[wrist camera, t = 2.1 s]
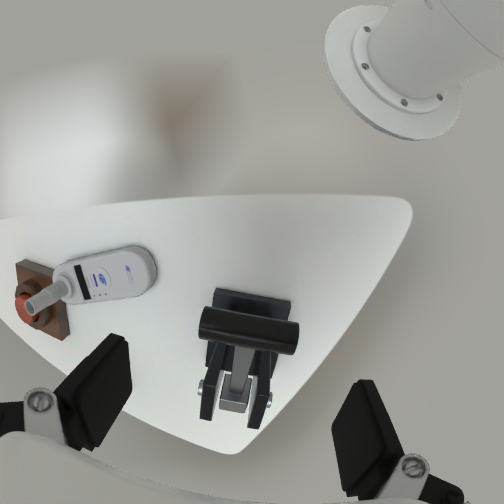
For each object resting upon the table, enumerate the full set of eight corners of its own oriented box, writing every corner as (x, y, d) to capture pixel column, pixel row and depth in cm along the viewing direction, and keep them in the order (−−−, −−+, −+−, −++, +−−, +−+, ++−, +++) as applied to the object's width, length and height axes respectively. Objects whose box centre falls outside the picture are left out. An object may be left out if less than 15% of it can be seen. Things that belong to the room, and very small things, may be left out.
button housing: (24, 259, 30) (7, 266, 27) (62, 272, 30) (43, 282, 26) (33, 316, 33) (18, 326, 29) (70, 334, 33) (55, 347, 29)
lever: (207, 294, 14) (196, 331, 13) (300, 311, 14) (298, 349, 13) (208, 382, 22) (202, 405, 21) (263, 392, 22) (260, 416, 20)
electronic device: (125, 327, 20) (26, 331, 21) (163, 286, 30) (71, 299, 31) (105, 265, 19) (9, 286, 20) (151, 240, 29) (59, 262, 30)
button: (20, 289, 28) (12, 293, 26) (37, 297, 28) (29, 302, 26) (25, 314, 29) (17, 318, 27) (41, 322, 29) (34, 327, 27)
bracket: (216, 287, 29) (184, 350, 18) (290, 301, 29) (299, 371, 17) (207, 360, 32) (181, 432, 20) (271, 372, 31) (269, 448, 20)
